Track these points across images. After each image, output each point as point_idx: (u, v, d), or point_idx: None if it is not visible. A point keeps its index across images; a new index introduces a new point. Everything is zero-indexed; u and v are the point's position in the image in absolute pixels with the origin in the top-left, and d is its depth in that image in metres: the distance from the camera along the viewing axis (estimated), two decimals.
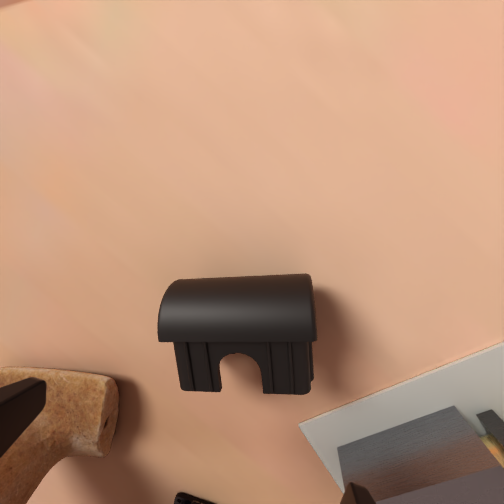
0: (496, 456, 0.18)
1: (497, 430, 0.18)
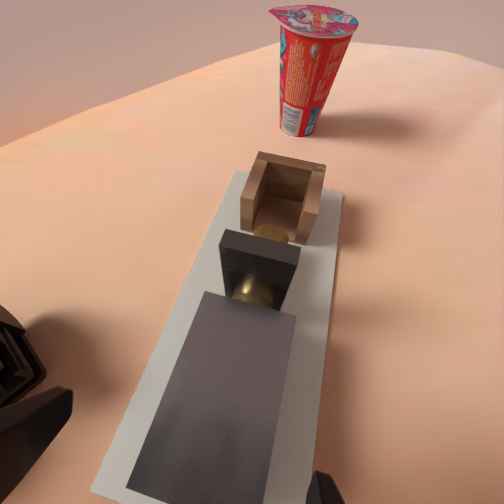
0: None
1: None
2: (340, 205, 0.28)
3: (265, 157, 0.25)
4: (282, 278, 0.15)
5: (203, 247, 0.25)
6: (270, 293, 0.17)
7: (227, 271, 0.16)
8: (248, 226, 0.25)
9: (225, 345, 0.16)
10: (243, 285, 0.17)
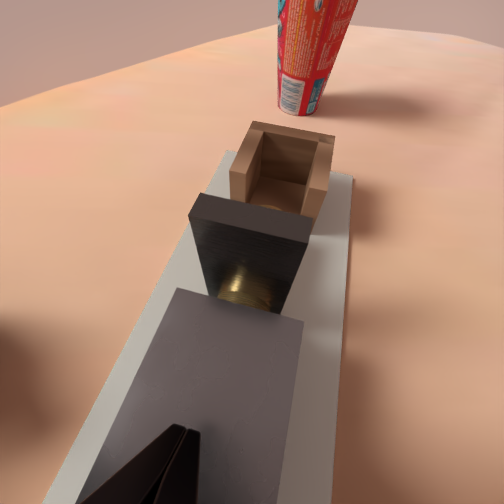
0: None
1: None
2: (350, 189, 0.24)
3: (261, 127, 0.20)
4: (285, 267, 0.10)
5: (184, 236, 0.20)
6: (267, 290, 0.13)
7: (206, 259, 0.12)
8: None
9: (202, 364, 0.11)
10: (230, 279, 0.13)
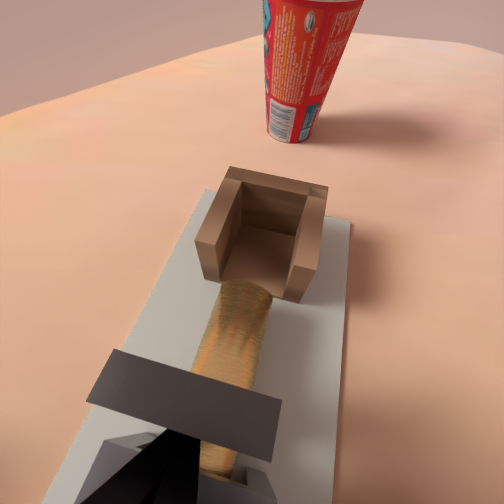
0: None
1: None
2: (347, 239, 0.20)
3: (239, 175, 0.17)
4: None
5: (146, 308, 0.17)
6: None
7: None
8: (214, 276, 0.17)
9: None
10: None
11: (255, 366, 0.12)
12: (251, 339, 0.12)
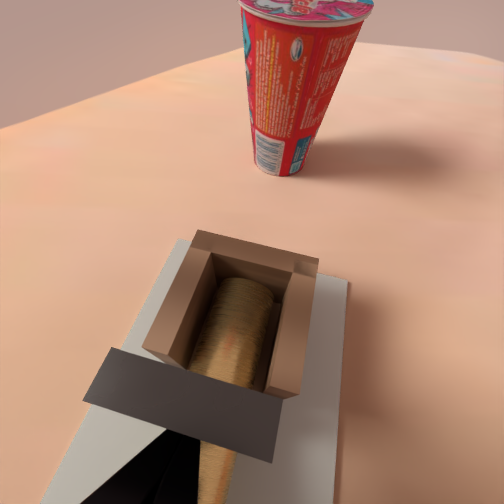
0: None
1: None
2: (344, 305, 0.17)
3: (208, 243, 0.14)
4: None
5: (92, 409, 0.13)
6: None
7: None
8: (179, 366, 0.14)
9: None
10: None
11: (255, 365, 0.12)
12: (251, 337, 0.12)
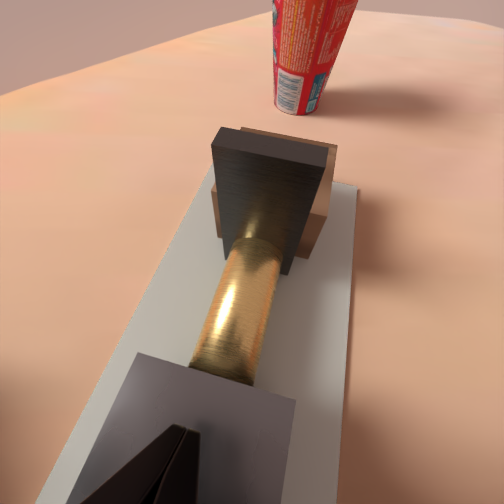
0: (230, 251, 0.15)
1: None
2: (354, 202, 0.21)
3: None
4: (301, 200, 0.11)
5: (163, 263, 0.18)
6: (281, 232, 0.13)
7: (224, 198, 0.12)
8: None
9: None
10: (246, 222, 0.13)
11: None
12: None
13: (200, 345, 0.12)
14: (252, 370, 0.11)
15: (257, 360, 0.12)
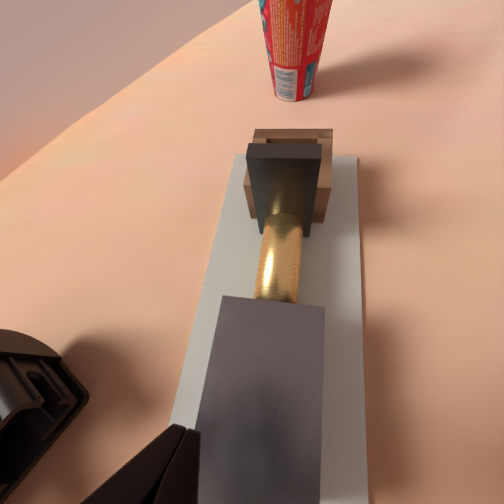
0: (264, 225, 0.20)
1: None
2: (355, 170, 0.26)
3: (263, 134, 0.23)
4: (309, 181, 0.16)
5: (215, 244, 0.24)
6: (299, 205, 0.19)
7: (256, 189, 0.18)
8: None
9: (253, 350, 0.15)
10: (273, 203, 0.19)
11: None
12: None
13: (258, 289, 0.18)
14: (295, 299, 0.17)
15: (297, 293, 0.18)
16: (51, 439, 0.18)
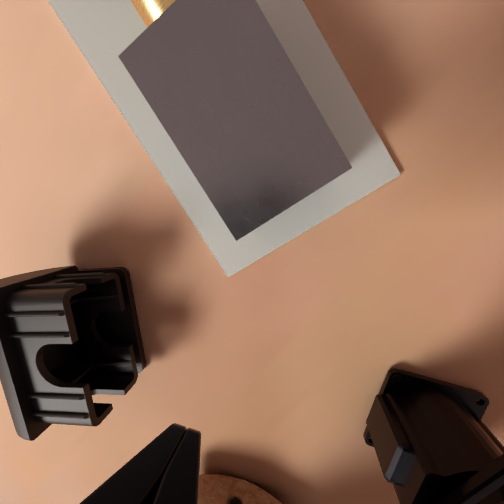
0: None
1: None
2: None
3: None
4: None
5: (80, 45, 0.17)
6: None
7: None
8: None
9: (193, 78, 0.12)
10: None
11: None
12: None
13: None
14: None
15: None
16: (131, 308, 0.20)
